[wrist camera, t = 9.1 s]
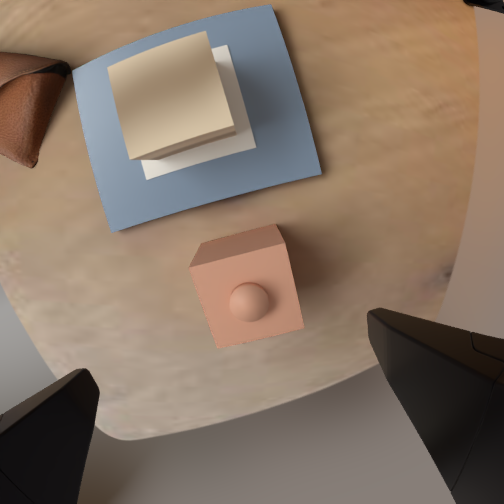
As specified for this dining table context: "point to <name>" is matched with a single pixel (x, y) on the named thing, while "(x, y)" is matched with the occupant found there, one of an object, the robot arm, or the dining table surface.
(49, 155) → the dining table surface
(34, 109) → the sunglasses case
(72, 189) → the dining table surface
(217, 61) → the board
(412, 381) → the robot arm
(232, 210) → the dining table surface
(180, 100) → the beech block
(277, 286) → the terracotta block
